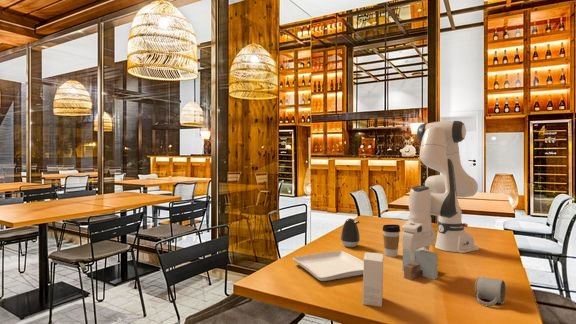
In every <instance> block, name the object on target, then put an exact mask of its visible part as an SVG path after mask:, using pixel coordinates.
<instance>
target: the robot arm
mask: <svg viewBox="0 0 576 324" xmlns="http://www.w3.org/2000/svg"><path fill="white" fill-rule="evenodd" d="M466 134H467V129H466V125H465V123H464V122H462V121H461V120H452V121H451V120H440V121H433V122H429V123H428V122H426V123H422V124H420V125H419V126H418V127H417V131H416V137H417V141H418V142H420V148H419V159H420V161H421V163H422V164H423V165H424V166H426V167H427V168H429V169H431V170H434V171H436V172H438V173H441V174H437V175H430V176H428V177H427V178H426V179H425V181H424V185H415V186H413V187H411V188H410V190H409V196H408V197H409V198H408V210H409V213H408V214H409V215H408V220H407V221H406V222H405V223H404V224H403V225H402V226H401V230H402V235H401V237H402V238H401V242H402V250H403V249H404V250H406V251H409V254H410V259H411V260H413V261H414V260H416V256H415V253H414V252H415V250H417V249H422V248H423V250H425V251H429V250H430V248H431V245H434V244H435V245H434V248H436V249H437V250H440V251H441V250H442V251H444V252H453V253H459V254H466V253H470V252H475V251H478V250H480V247H479V246H478V245H476V244H475V239H474V237H473V236H472V235H471V234H470V233H469V232H468V231H466V230H465V228H468V227H469V225H468V223H465V222H463V223H462V217H463V216H462V214H463V213H462V208H461V207H460V203H459V199H458V198H467V197H474V196H475V195H476V194H477V192H478V188H479V185H478V182H477V181H476V179H475V178H474V177H473V176H470V175H469V174H468V173H467V172H466V171H465V169H464V168H463V165H462V163H461V156H460V148H459V146H460V145H459V143H462V142H463V141H464V140H465V137H466ZM432 216H438V221H437V234H436V231H435V228H434V225H433V224H432ZM429 252H430V251H429Z"/></svg>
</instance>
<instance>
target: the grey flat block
mask: <svg viewBox="0 0 576 324" xmlns="http://www.w3.org/2000/svg"><path fill="white" fill-rule="evenodd" d="M414 253H415V256H416V260H414V261H413V260H411V259H410V254H409V251H406V250H404V249H403V248H402V271H403V272H404V266H405V265H408V264H410V263H413V262H414V263H417V264H420V270H423V275H422V277H423V278H427V279H430V280H436V279H438V275H439V274H438V272H439V271H438V270H439V268H438V263H439V260H438V259H439V257H438V256H439V253H436V252H433V251H425V250H424V249H422V248H420V249H417V250H415V252H414Z"/></svg>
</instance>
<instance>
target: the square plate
mask: <svg viewBox="0 0 576 324" xmlns="http://www.w3.org/2000/svg"><path fill="white" fill-rule="evenodd" d="M292 260H293V261H294V262H295V263H296V264H297V265H298V266H300V267H301V268H303V269H304V270H306V271H307V272H308V273H309V274H311V275H312V276H313V277H314V278H316V279H317V280H319V281H321V282H326V281H332V280H333V281H334V280H339V279H345V278H351V277H357V276H362V275H363V269H364V260H362V259H360V258H358V257H356V256H354V255H353V254H350V253H347V252H345V251H343V250H338V251H337V250H336V251H326V252H318V253H312V254H311V253H310V254H305V255H298V256H294V257H292Z"/></svg>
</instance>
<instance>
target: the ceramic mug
mask: <svg viewBox="0 0 576 324" xmlns="http://www.w3.org/2000/svg"><path fill="white" fill-rule="evenodd" d="M506 288H507V287H506V282H505V281H504V279H497V278H490V277H485V276H479V277H477V278H476V280H475V283H474V293H475V295H476V301H477V302H478V303H479V304H480V303H481V304H480V305H482V304H483V305H482V306H484V305H487V306H486V307H493V306H494V305H496V304H500V305H504V303H505V300H506V294H507V293H506V291H507V289H506ZM481 299H483V300H485V299H486V302H485V301H483V300H481ZM487 301H489V302H487Z"/></svg>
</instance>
